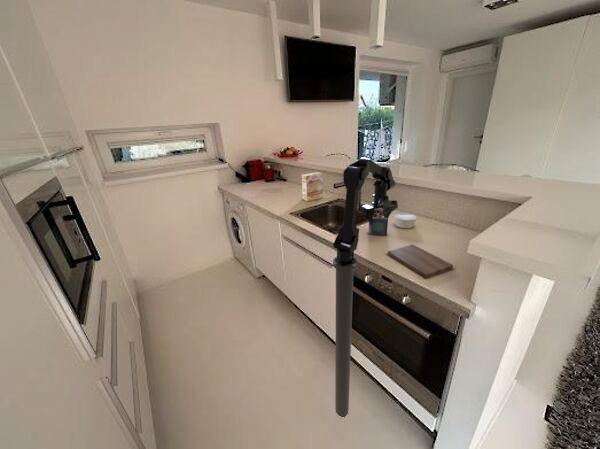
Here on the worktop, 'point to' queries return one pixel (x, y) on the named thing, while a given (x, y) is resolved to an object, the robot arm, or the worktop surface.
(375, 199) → the robot arm
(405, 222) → the ramekin
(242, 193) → the worktop surface
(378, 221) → the flask
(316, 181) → the coffeecake box
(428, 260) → the serving board
